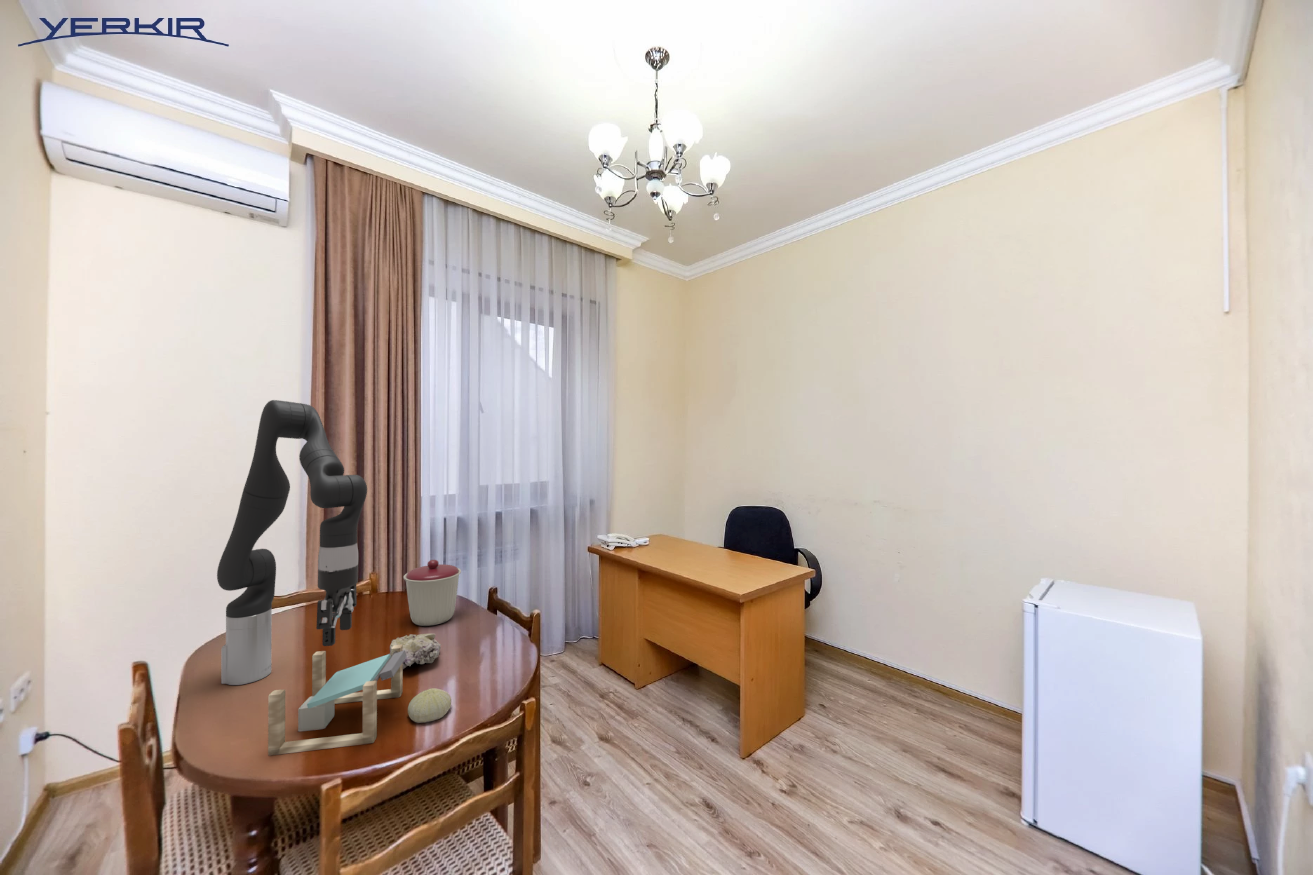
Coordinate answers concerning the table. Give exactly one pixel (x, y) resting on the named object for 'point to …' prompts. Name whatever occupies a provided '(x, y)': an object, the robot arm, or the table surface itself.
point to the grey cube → (315, 715)
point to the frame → (318, 681)
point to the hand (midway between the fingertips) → (337, 637)
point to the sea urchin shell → (429, 705)
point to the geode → (418, 648)
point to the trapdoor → (357, 678)
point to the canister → (432, 593)
